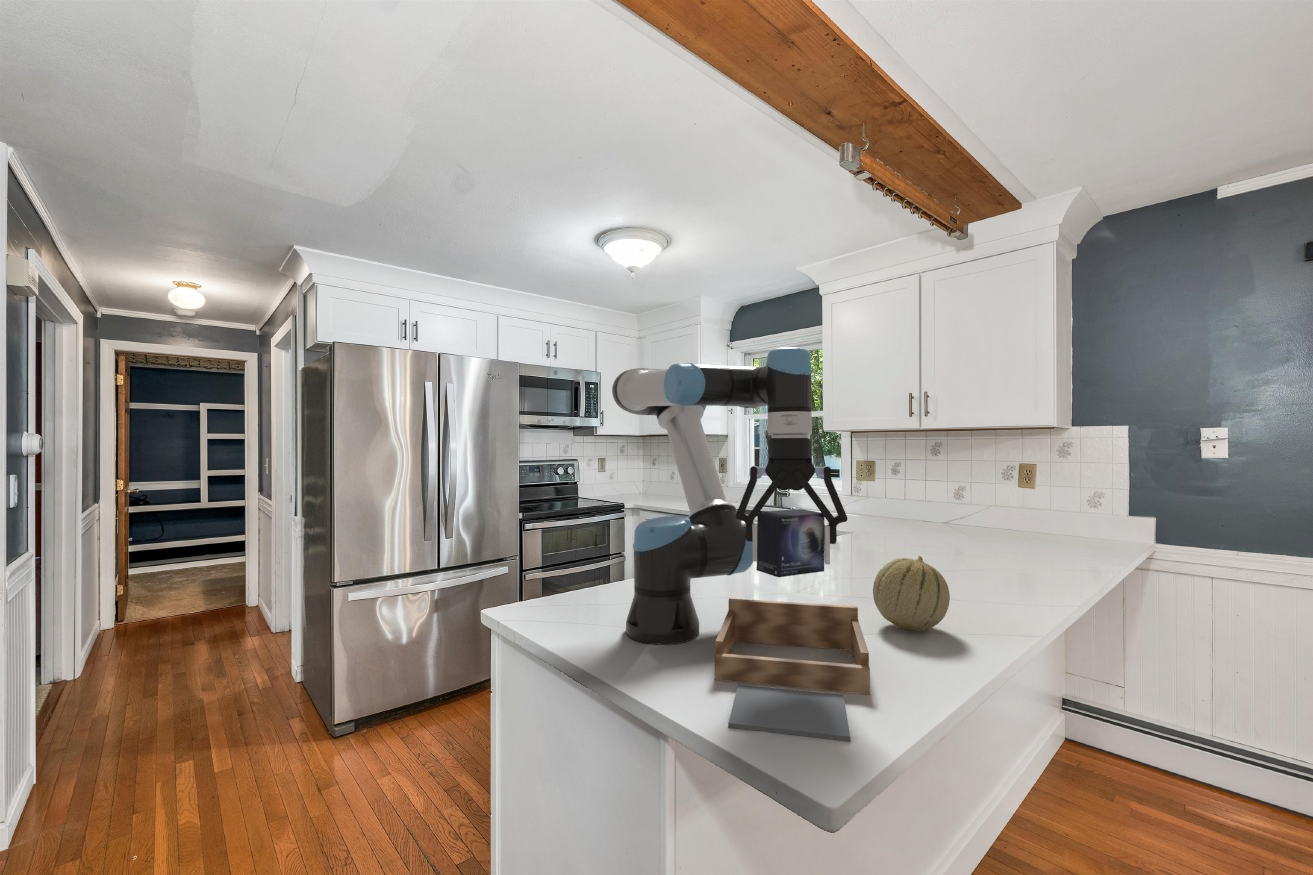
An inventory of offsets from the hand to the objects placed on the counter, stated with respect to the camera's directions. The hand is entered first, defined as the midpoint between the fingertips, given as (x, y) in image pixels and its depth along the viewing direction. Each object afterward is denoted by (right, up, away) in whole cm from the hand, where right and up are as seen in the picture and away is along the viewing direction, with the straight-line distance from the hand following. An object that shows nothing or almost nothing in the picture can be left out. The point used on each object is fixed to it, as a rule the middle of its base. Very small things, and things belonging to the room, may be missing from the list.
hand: (790, 561), depth 101 cm
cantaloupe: (+30, -18, +20) cm, 40 cm away
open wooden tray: (0, -18, +1) cm, 18 cm away
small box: (0, -2, 0) cm, 2 cm away
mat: (-4, -18, -17) cm, 25 cm away
